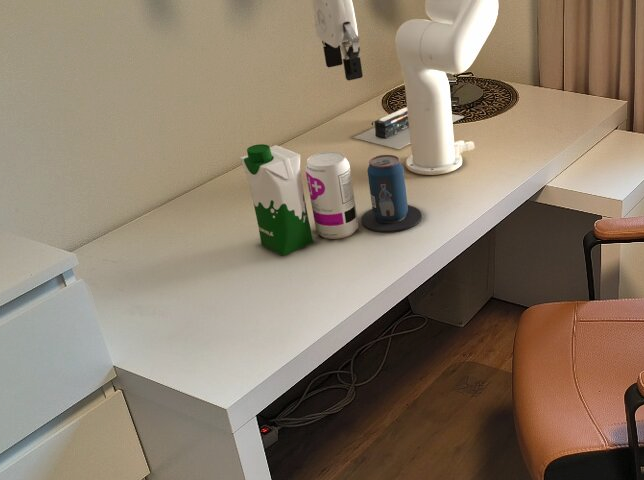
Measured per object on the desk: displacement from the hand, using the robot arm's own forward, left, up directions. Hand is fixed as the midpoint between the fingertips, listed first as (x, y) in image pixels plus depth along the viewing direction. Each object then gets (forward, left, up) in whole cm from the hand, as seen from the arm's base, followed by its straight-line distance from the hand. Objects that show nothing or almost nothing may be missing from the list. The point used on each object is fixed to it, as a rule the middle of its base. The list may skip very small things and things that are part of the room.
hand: (344, 72), depth 174 cm
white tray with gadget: (-26, -34, -27) cm, 51 cm away
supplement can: (+9, +10, -27) cm, 31 cm away
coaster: (-2, +11, -27) cm, 29 cm away
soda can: (-2, +11, -27) cm, 29 cm away
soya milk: (+19, +10, -27) cm, 35 cm away
